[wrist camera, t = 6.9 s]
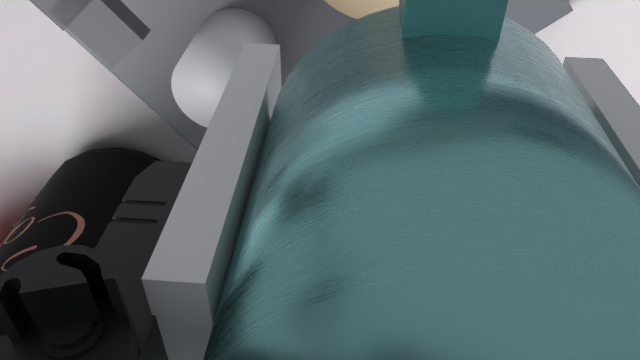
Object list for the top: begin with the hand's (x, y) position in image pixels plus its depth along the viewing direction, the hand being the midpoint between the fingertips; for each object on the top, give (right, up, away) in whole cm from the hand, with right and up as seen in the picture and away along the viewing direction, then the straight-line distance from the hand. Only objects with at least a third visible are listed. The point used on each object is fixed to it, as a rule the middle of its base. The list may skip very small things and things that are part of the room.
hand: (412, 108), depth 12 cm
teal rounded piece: (0, -1, -1) cm, 2 cm away
